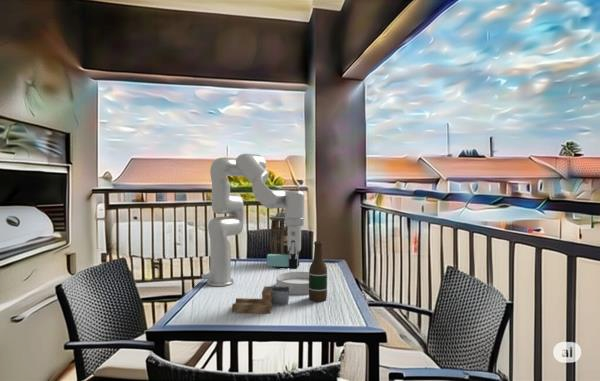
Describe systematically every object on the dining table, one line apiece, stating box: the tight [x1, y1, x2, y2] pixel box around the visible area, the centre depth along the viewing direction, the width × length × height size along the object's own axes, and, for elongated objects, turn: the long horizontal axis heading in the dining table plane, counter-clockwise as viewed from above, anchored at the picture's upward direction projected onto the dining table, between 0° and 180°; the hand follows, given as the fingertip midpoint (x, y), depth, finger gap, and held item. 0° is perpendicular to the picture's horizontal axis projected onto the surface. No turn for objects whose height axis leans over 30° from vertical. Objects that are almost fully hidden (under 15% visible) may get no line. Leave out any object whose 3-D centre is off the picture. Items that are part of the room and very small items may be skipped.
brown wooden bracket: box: [231, 285, 273, 314], centre depth 142 cm, size 14×8×8 cm, turn 88°
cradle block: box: [269, 285, 290, 306], centre depth 152 cm, size 8×8×5 cm
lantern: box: [268, 208, 300, 270], centre depth 218 cm, size 19×19×40 cm
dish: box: [275, 271, 309, 296], centre depth 173 cm, size 22×22×5 cm
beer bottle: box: [308, 240, 328, 303], centre depth 156 cm, size 8×8×24 cm
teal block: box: [266, 253, 299, 267], centre depth 151 cm, size 12×4×4 cm, turn 88°
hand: (293, 267), depth 150 cm, fingers closed on teal block, 4 cm apart
